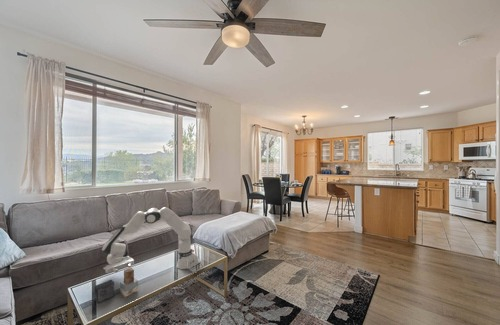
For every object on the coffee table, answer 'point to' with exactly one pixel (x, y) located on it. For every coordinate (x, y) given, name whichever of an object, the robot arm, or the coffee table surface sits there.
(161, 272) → the coffee table surface
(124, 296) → the tower base
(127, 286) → the tower top
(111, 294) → the small box
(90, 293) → the coffee table surface
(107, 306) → the coffee table surface
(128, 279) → the walnut block
